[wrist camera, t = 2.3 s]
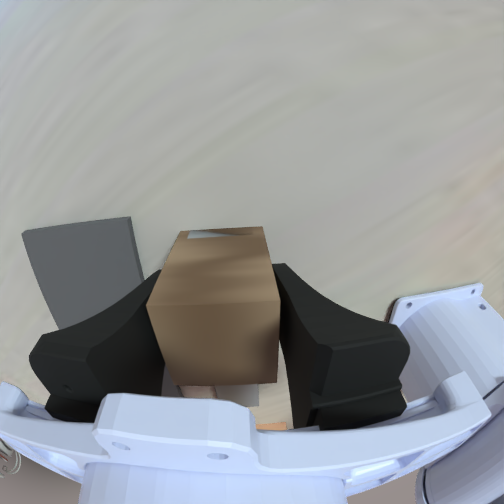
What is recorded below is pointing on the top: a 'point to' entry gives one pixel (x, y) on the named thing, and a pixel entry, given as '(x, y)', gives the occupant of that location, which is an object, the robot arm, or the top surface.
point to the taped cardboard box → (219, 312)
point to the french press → (6, 450)
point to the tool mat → (87, 271)
